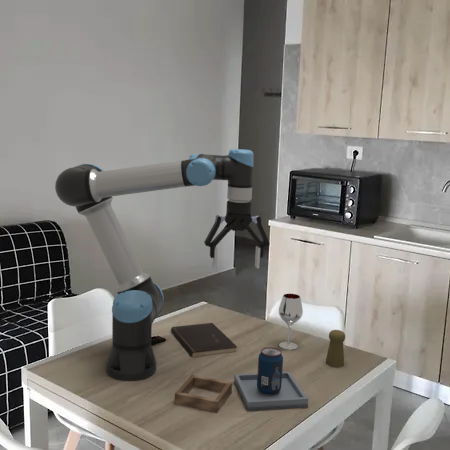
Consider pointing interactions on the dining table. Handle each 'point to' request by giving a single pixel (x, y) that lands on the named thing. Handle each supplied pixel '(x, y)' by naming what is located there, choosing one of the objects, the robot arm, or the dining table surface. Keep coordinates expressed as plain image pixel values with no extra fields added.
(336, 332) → the cork
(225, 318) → the dining table surface
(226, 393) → the can holder
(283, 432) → the dining table surface
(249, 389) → the tray
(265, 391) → the soda can
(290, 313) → the wineglass
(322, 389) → the dining table surface
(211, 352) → the hardcover book
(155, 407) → the dining table surface
